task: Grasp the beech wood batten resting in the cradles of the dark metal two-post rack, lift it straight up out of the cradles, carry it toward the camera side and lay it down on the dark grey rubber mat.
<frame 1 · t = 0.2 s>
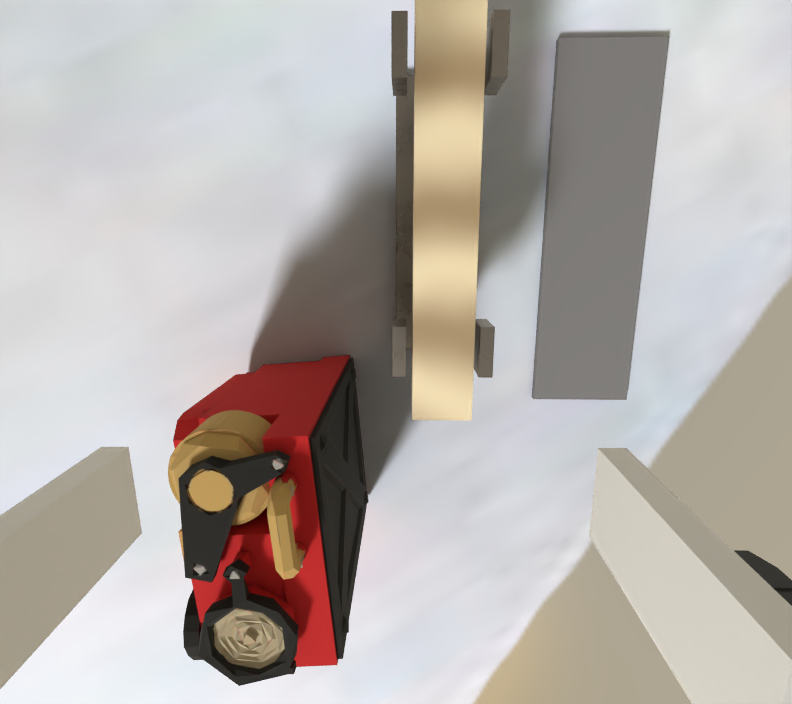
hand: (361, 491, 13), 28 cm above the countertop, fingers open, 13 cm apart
rail: (442, 212, 28), point 10 cm above the countertop, touching rack
mat: (592, 233, 38), on the countertop
red coffee machine: (309, 435, 43), on the countertop
rack: (433, 221, 38), on the countertop
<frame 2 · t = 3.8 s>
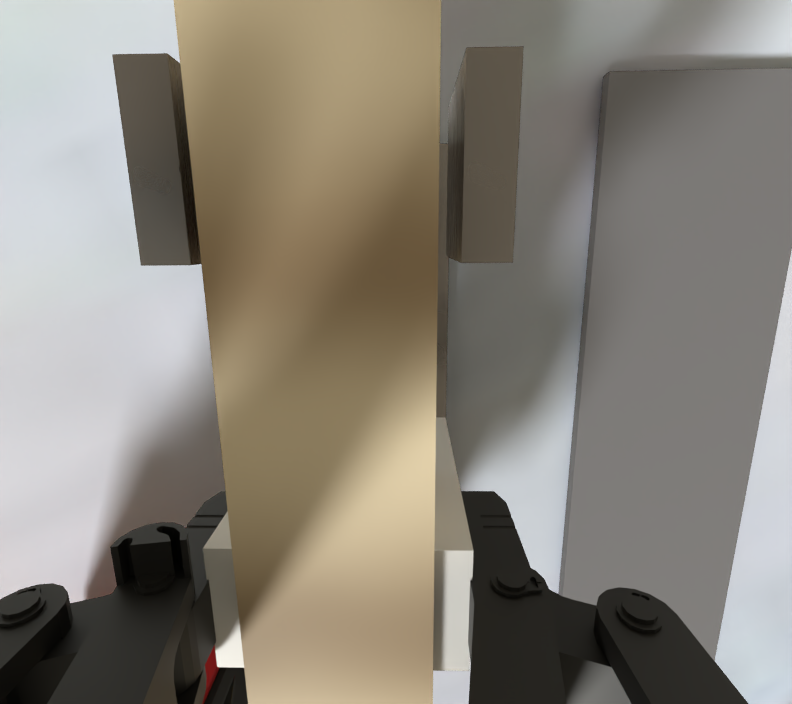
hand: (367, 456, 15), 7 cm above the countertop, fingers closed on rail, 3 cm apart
rail: (356, 518, 12), point 10 cm above the countertop, touching gripper, rack
mat: (661, 412, 21), on the countertop
rack: (379, 392, 21), on the countertop
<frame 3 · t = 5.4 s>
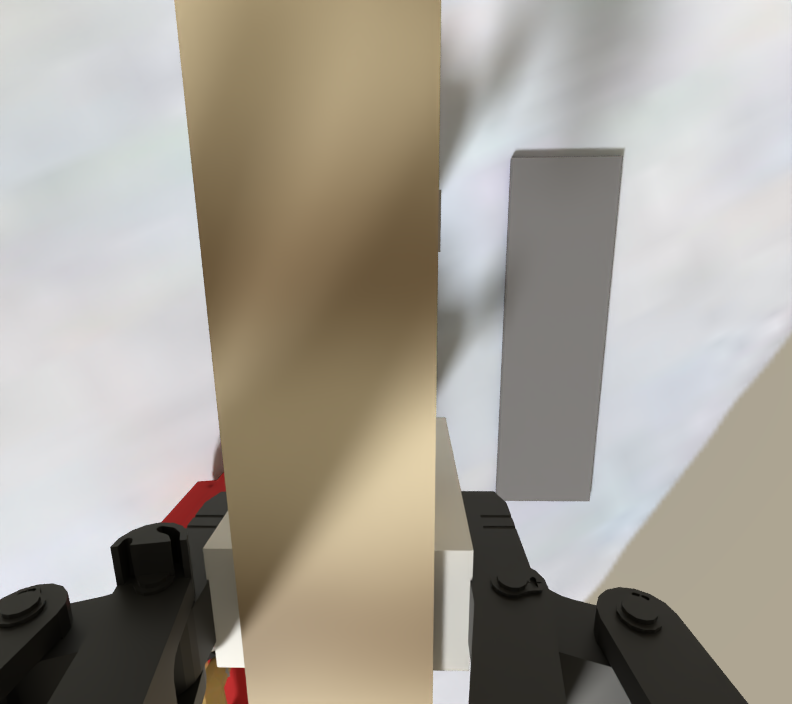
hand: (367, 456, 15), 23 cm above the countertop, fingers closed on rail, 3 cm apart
rail: (357, 518, 12), point 27 cm above the countertop, touching gripper
mat: (551, 342, 38), on the countertop
red coffee machine: (275, 533, 43), on the countertop
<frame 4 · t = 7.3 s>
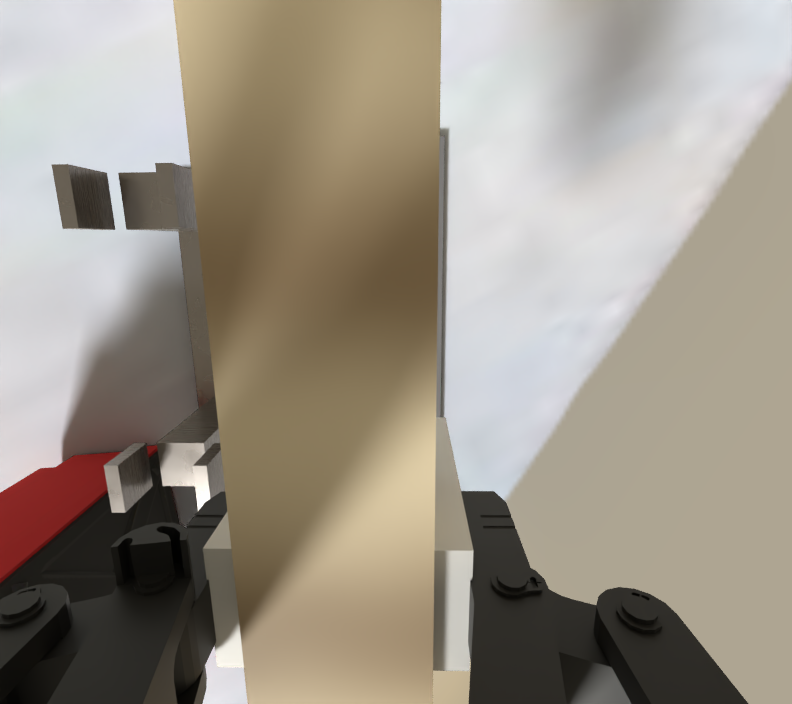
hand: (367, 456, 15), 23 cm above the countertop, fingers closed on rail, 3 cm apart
rail: (356, 520, 12), point 26 cm above the countertop, touching gripper
mat: (391, 326, 37), on the countertop
red coffee machine: (130, 521, 42), on the countertop
rack: (229, 315, 37), on the countertop
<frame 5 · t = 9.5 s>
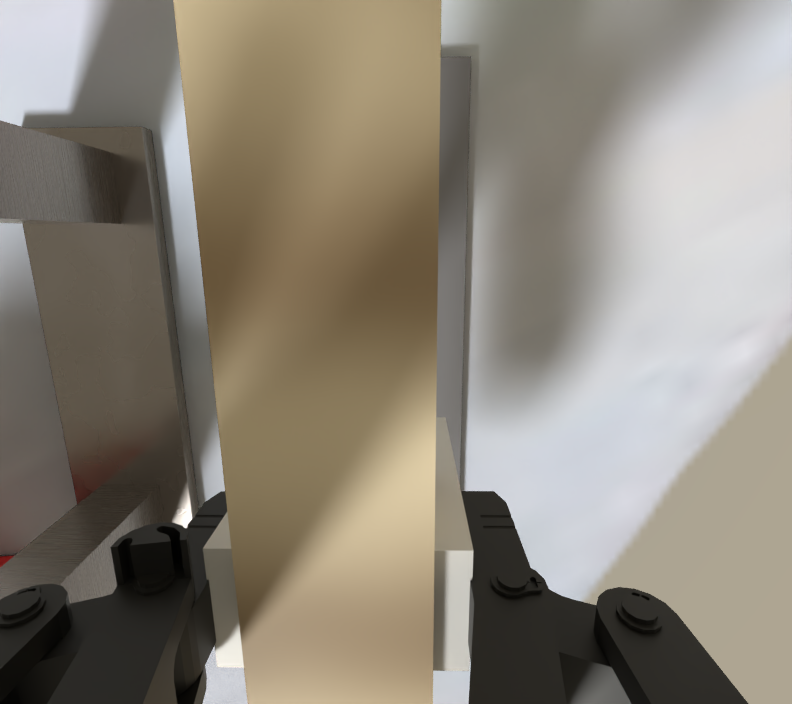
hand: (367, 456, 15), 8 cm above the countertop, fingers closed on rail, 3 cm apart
rail: (356, 520, 12), point 12 cm above the countertop, touching gripper
mat: (380, 377, 23), on the countertop
rack: (120, 359, 23), on the countertop
when the fingers open (1 cm above the countertop, at t = 11.2 s): rail drops 4 cm, resting on mat.
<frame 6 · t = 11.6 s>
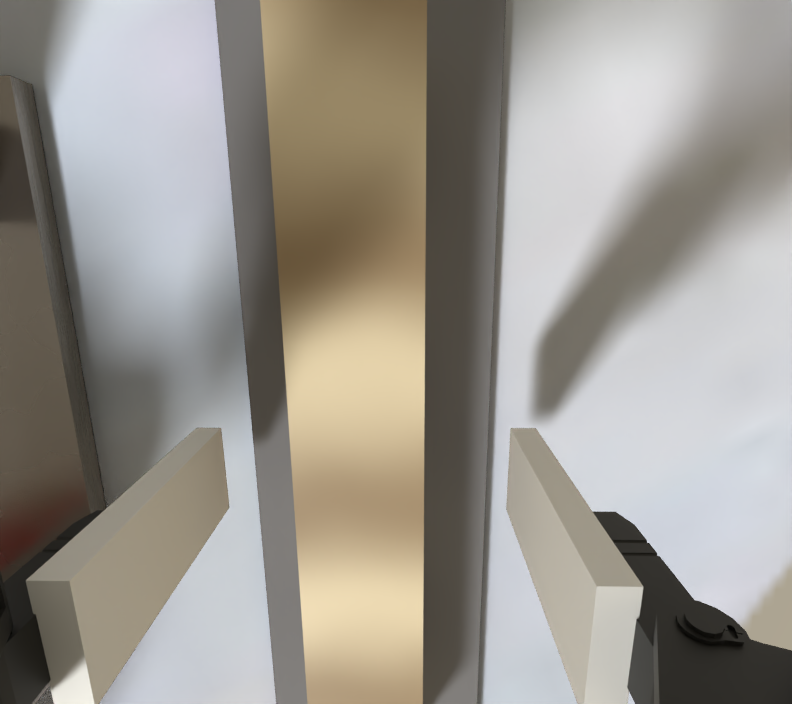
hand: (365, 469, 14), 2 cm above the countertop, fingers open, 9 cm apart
rail: (369, 446, 16), point 1 cm above the countertop, touching mat
mat: (371, 439, 16), on the countertop
rack: (6, 412, 17), on the countertop
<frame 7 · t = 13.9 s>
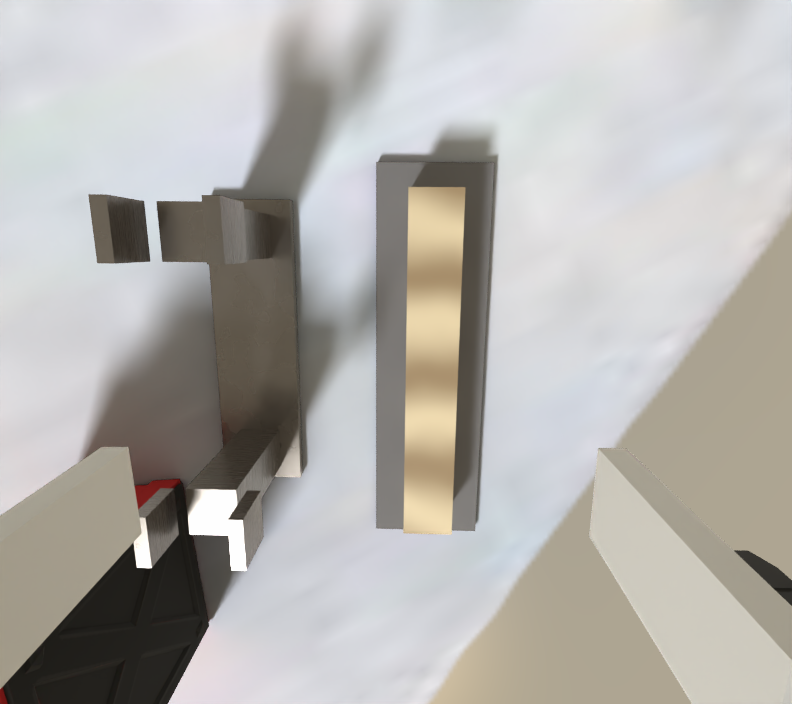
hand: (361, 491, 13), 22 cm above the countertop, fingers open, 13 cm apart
rail: (429, 362, 35), point 1 cm above the countertop, touching mat
mat: (429, 360, 35), on the countertop
red coffee machine: (145, 558, 40), on the countertop
rack: (258, 344, 35), on the countertop
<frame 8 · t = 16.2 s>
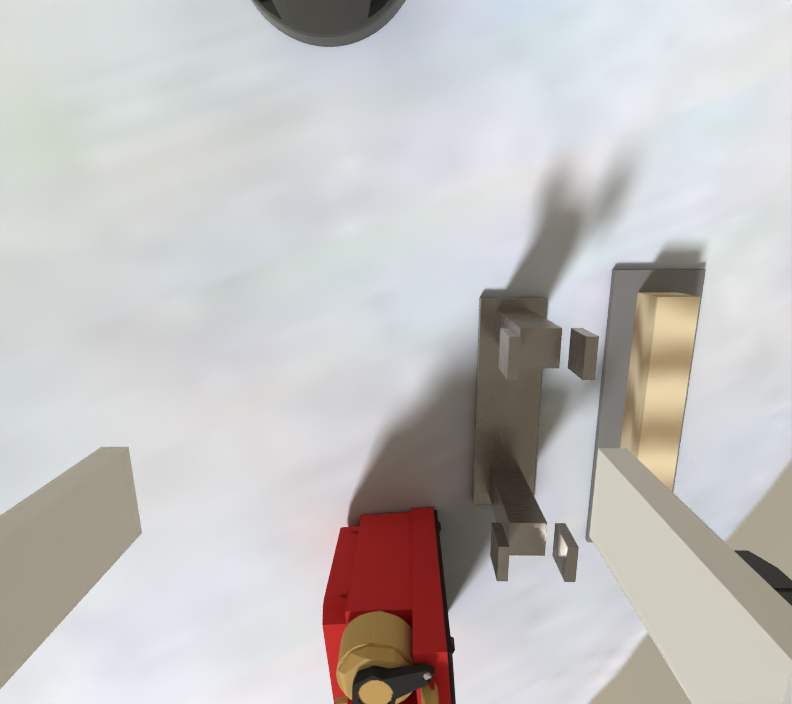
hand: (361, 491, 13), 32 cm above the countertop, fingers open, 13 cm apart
rail: (641, 416, 45), point 1 cm above the countertop, touching mat
mat: (639, 413, 46), on the countertop
red coffee machine: (396, 568, 51), on the countertop
rack: (506, 404, 46), on the countertop
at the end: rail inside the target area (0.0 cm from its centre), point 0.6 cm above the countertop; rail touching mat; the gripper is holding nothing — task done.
